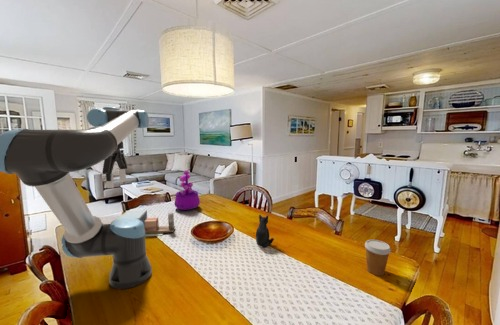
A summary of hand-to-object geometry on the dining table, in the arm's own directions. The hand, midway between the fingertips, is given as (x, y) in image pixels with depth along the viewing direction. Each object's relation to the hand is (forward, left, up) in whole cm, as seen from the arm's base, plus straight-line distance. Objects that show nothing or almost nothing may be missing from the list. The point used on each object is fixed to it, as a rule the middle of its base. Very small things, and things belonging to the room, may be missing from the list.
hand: (117, 184), depth 111 cm
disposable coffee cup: (-66, -100, -33) cm, 124 cm away
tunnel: (+16, -8, -33) cm, 37 cm away
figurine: (-26, -68, -33) cm, 80 cm away
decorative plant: (+49, -40, -33) cm, 71 cm away
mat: (+14, -16, -33) cm, 39 cm away
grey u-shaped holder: (+13, -19, -32) cm, 39 cm away
